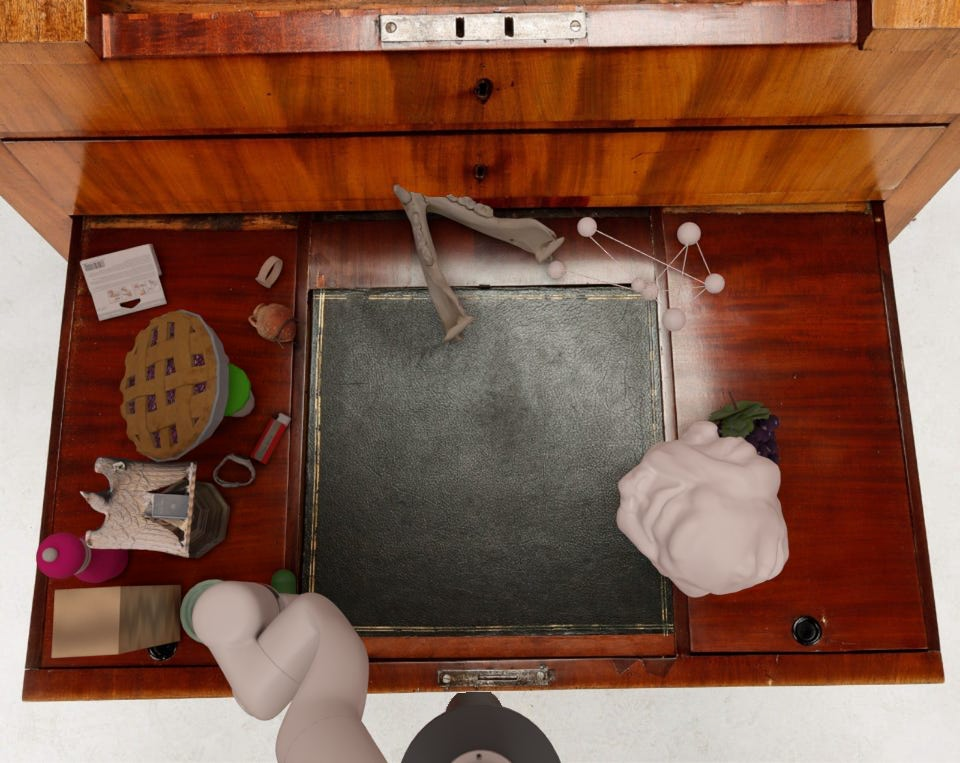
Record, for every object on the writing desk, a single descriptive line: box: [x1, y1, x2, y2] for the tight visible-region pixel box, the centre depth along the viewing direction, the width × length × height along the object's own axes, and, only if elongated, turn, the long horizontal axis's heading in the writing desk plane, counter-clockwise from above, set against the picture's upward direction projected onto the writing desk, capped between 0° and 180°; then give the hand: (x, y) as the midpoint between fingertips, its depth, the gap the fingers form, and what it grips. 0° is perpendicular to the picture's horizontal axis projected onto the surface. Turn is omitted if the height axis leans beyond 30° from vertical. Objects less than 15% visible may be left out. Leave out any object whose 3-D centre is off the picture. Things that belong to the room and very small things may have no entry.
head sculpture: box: [615, 420, 790, 598], centre depth 124 cm, size 23×23×25 cm
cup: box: [223, 363, 256, 418], centre depth 131 cm, size 8×8×15 cm
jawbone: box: [393, 184, 565, 343], centre depth 137 cm, size 25×25×15 cm
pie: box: [119, 309, 229, 463], centre depth 128 cm, size 22×22×5 cm
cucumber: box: [270, 568, 297, 594], centre depth 130 cm, size 11×4×4 cm, turn 3°
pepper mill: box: [35, 532, 129, 584], centre depth 123 cm, size 7×7×20 cm
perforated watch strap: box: [255, 255, 283, 289], centre depth 140 cm, size 3×5×5 cm, turn 150°
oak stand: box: [51, 584, 182, 659], centre depth 120 cm, size 8×8×24 cm
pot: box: [248, 302, 307, 349], centre depth 138 cm, size 6×8×6 cm
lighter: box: [250, 412, 292, 465], centre depth 137 cm, size 3×1×8 cm
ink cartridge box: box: [79, 243, 167, 322], centre depth 141 cm, size 2×11×10 cm
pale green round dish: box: [180, 578, 228, 644], centre depth 130 cm, size 9×9×4 cm
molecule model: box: [546, 216, 726, 332], centre depth 139 cm, size 14×25×18 cm
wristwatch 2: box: [213, 453, 256, 489], centre depth 135 cm, size 4×6×5 cm
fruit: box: [706, 391, 781, 466], centre depth 134 cm, size 10×11×15 cm
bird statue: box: [79, 441, 231, 559], centre depth 117 cm, size 17×13×35 cm
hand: (282, 612), depth 124 cm, fingers open, 9 cm apart
